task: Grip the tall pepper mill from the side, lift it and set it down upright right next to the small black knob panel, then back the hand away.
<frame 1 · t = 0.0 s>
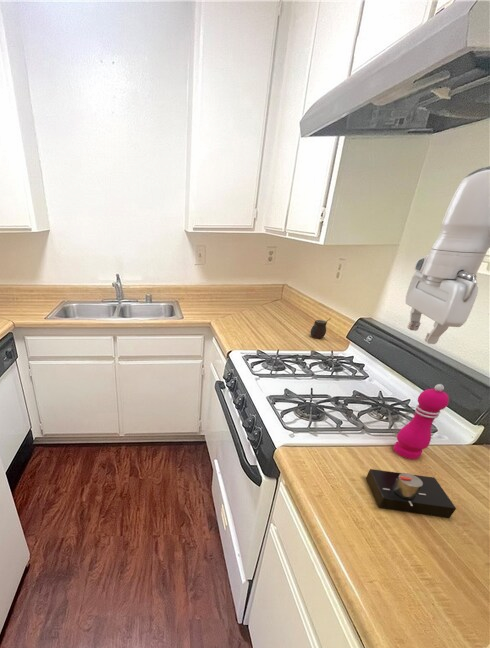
hand: (420, 335, 76), 31 cm above the countertop, tool pointing down, fingers open, 8 cm apart
black knob panel: (404, 497, 78), on the countertop
pepper mill: (405, 453, 93), on the countertop
hob knob: (407, 485, 74), point 5 cm above the countertop, hinge at 0.0°
mate gourd: (316, 337, 174), on the countertop
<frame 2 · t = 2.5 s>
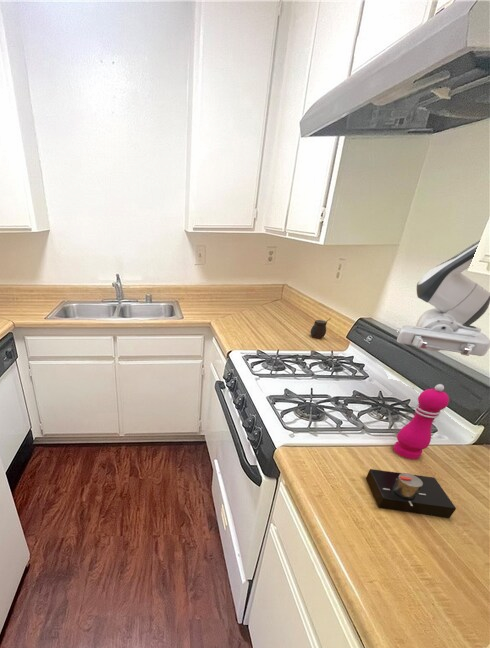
hand: (444, 348, 88), 25 cm above the countertop, tool horizontal, fingers open, 8 cm apart
nothing on the countertop moved.
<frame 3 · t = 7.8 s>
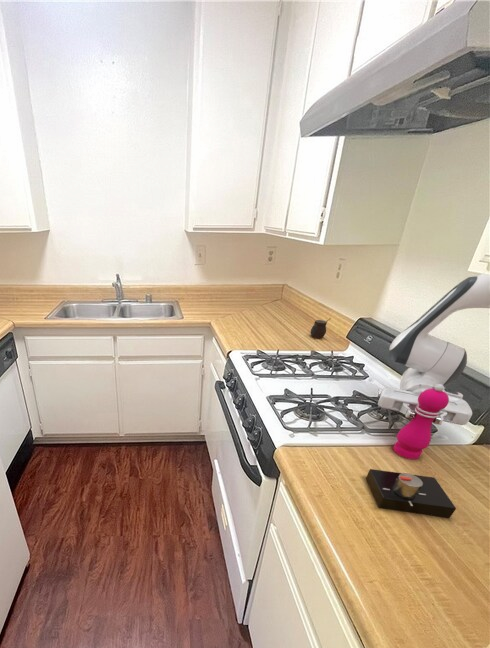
hand: (424, 418, 86), 11 cm above the countertop, tool horizontal, fingers closed on pepper mill, 4 cm apart
pepper mill: (405, 452, 93), on the countertop, touching gripper
everything else where it was.
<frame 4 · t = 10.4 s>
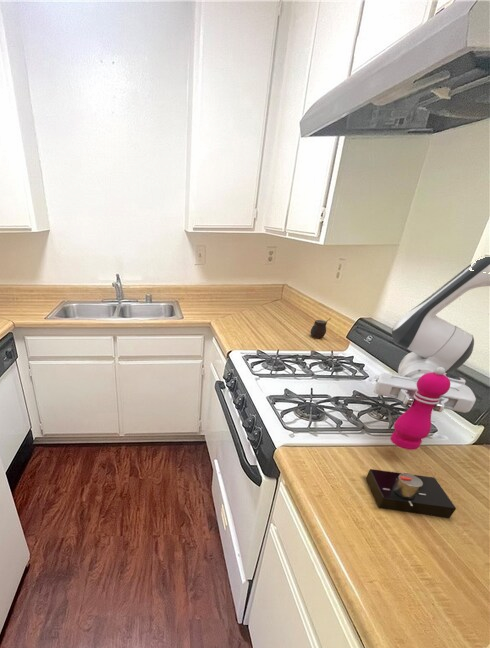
hand: (423, 405, 79), 17 cm above the countertop, tool horizontal, fingers closed on pepper mill, 4 cm apart
pepper mill: (403, 443, 86), point 6 cm above the countertop, touching gripper
everything else where it was.
when the fingers open (11 cm above the countertop, at t = 13.3 s): pepper mill stays where it is, on the countertop.
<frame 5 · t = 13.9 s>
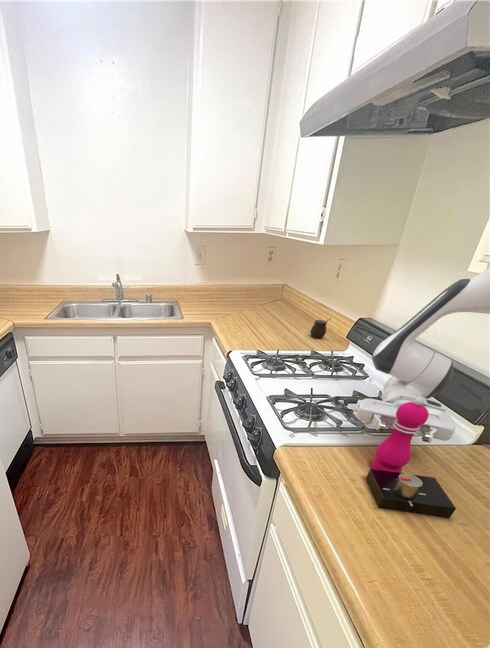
hand: (403, 433, 80), 11 cm above the countertop, tool horizontal, fingers open, 8 cm apart
pepper mill: (384, 469, 86), on the countertop
everything else where it was.
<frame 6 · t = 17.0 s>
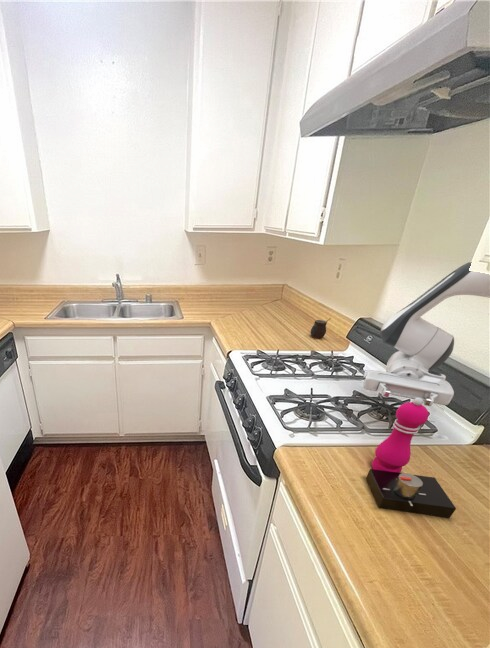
hand: (407, 398, 87), 14 cm above the countertop, tool horizontal, fingers open, 8 cm apart
nothing on the countertop moved.
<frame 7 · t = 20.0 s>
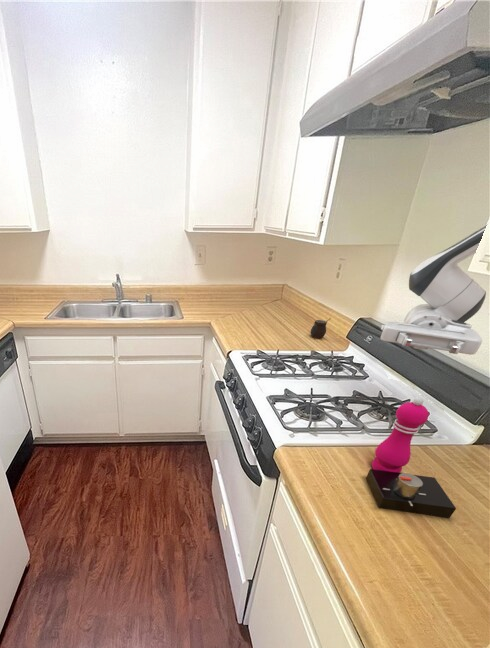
hand: (430, 346, 80), 28 cm above the countertop, tool horizontal, fingers open, 8 cm apart
nothing on the countertop moved.
at the end: pepper mill inside the target area (0.8 cm from its centre), on the countertop; pepper mill 10.0 cm from the black knob panel (horizontally); pepper mill tilted 0° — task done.
